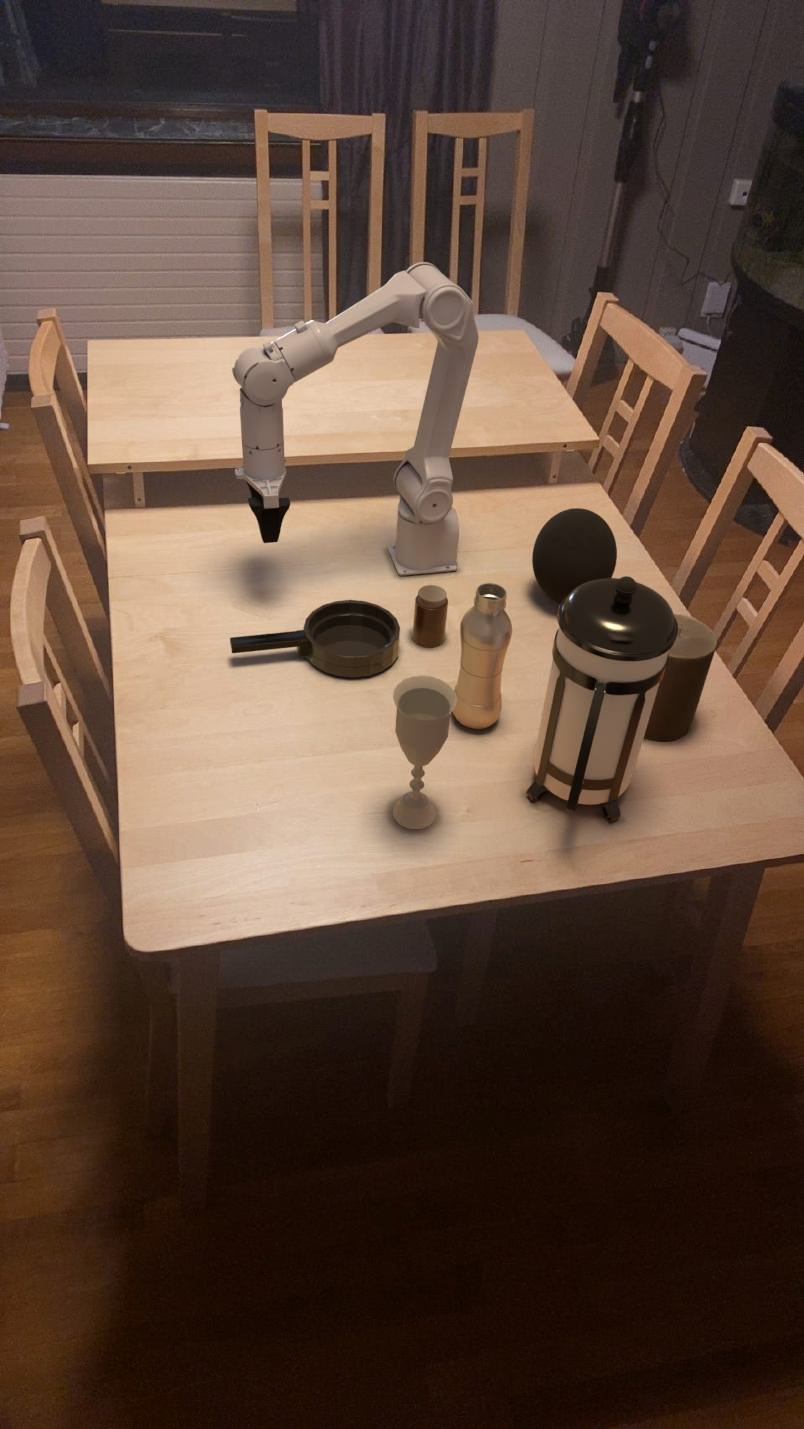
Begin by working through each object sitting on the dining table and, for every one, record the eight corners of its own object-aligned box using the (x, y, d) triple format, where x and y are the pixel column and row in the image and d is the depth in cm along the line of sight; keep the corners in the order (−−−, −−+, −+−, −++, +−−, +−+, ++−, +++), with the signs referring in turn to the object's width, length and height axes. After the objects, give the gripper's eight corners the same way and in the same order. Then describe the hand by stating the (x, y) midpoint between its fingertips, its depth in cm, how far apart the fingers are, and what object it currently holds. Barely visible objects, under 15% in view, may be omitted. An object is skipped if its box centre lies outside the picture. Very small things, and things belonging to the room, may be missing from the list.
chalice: (383, 791, 120) (390, 675, 108) (439, 790, 121) (452, 675, 109) (387, 837, 115) (395, 720, 103) (446, 835, 116) (460, 719, 104)
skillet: (386, 618, 147) (387, 596, 144) (408, 674, 137) (409, 651, 135) (297, 627, 144) (297, 604, 142) (313, 685, 135) (313, 661, 132)
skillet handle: (306, 645, 140) (306, 629, 138) (309, 656, 138) (309, 640, 136) (230, 653, 138) (229, 636, 136) (233, 664, 136) (231, 648, 134)
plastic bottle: (466, 741, 128) (483, 613, 115) (440, 709, 132) (454, 582, 119) (508, 727, 130) (530, 600, 117) (482, 696, 135) (500, 571, 122)
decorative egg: (622, 612, 151) (643, 526, 142) (553, 630, 147) (570, 542, 137) (577, 570, 160) (594, 486, 150) (510, 586, 155) (524, 500, 145)
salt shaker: (439, 627, 146) (443, 582, 141) (448, 645, 143) (452, 600, 138) (409, 630, 145) (412, 585, 140) (416, 649, 142) (420, 604, 137)
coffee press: (490, 758, 126) (521, 555, 106) (598, 730, 131) (648, 530, 111) (558, 858, 114) (608, 649, 94) (674, 822, 119) (745, 617, 99)
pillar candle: (685, 749, 129) (715, 658, 119) (611, 729, 131) (634, 637, 121) (696, 704, 136) (725, 614, 126) (625, 686, 138) (648, 596, 128)
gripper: (227, 418, 141) (233, 504, 150) (239, 467, 130) (244, 556, 139) (277, 416, 142) (280, 501, 151) (293, 464, 132) (295, 552, 141)
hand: (266, 527), depth 145 cm, fingers open, 7 cm apart
